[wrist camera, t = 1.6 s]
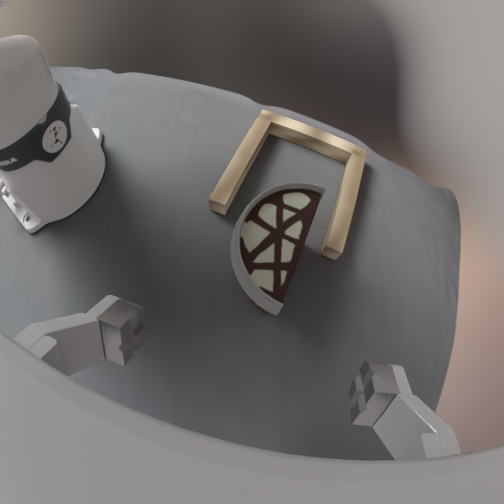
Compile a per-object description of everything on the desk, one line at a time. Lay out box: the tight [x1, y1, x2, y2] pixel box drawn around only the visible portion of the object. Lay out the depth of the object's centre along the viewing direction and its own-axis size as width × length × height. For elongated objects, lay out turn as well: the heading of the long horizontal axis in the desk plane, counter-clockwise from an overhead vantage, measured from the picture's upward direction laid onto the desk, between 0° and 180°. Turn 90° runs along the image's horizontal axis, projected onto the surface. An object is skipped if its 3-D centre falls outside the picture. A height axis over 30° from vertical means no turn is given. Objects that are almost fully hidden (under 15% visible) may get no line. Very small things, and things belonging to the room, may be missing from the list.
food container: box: [230, 182, 326, 316], centre depth 28 cm, size 12×6×10 cm, turn 157°
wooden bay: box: [209, 110, 367, 260], centre depth 35 cm, size 16×17×2 cm
